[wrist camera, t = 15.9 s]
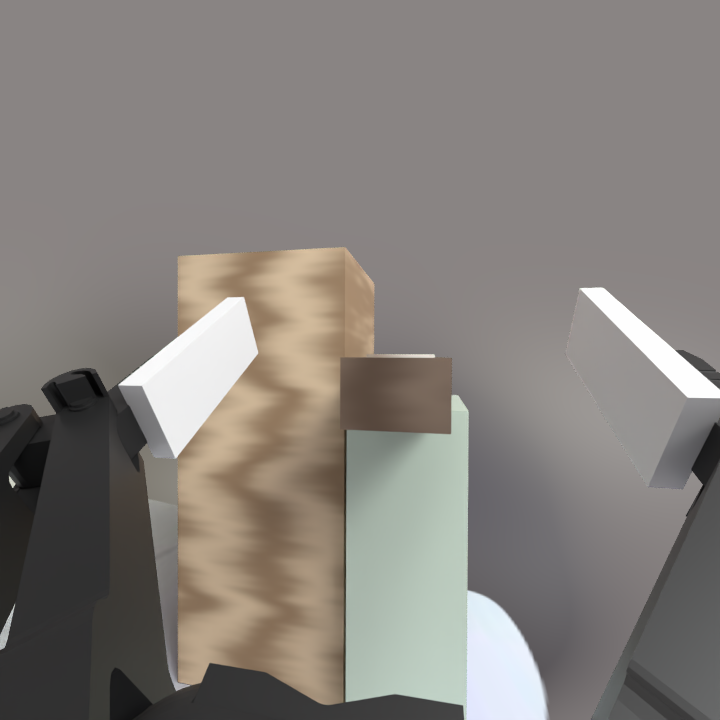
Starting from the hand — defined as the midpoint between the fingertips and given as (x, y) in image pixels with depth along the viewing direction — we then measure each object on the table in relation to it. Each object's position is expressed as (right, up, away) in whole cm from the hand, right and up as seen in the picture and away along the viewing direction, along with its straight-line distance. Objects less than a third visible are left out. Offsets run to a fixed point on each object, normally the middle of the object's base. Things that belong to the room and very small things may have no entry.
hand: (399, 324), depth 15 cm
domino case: (+2, -4, +11) cm, 12 cm away
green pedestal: (+2, -24, +11) cm, 27 cm away
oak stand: (-7, -24, +16) cm, 30 cm away
